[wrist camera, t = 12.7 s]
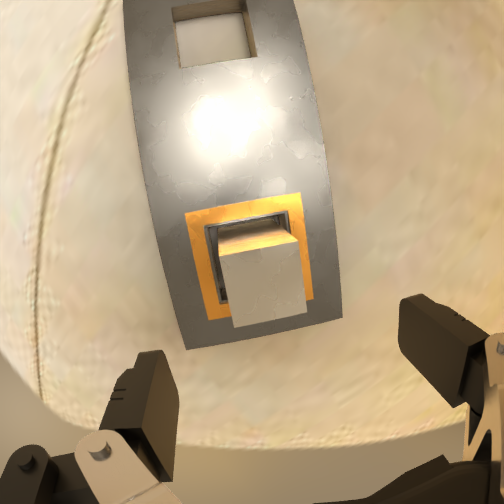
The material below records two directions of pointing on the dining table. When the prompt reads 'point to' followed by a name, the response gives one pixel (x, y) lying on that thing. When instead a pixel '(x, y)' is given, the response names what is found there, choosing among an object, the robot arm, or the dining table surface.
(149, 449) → the robot arm
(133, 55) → the grey board with holes
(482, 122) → the dining table surface
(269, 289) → the grey square peg
